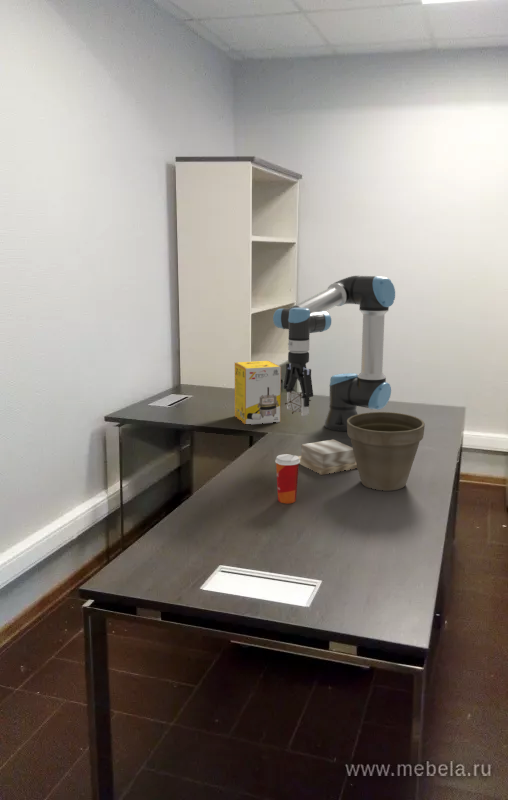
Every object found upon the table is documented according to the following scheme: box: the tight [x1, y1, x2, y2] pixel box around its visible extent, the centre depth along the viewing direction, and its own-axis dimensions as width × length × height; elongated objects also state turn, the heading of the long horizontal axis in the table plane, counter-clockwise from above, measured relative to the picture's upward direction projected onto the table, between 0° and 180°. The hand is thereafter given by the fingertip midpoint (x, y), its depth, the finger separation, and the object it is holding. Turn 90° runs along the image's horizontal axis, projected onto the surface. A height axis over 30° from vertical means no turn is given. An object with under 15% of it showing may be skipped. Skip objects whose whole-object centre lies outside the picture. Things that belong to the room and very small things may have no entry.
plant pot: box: [346, 411, 426, 492], centre depth 232 cm, size 25×25×22 cm
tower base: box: [297, 439, 358, 476], centre depth 254 cm, size 18×18×6 cm
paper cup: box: [274, 453, 300, 505], centre depth 217 cm, size 8×8×14 cm
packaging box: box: [234, 360, 282, 425], centre depth 315 cm, size 16×16×25 cm
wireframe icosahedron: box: [284, 391, 312, 415], centre depth 256 cm, size 9×8×10 cm
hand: (297, 412), depth 257 cm, fingers closed on wireframe icosahedron, 10 cm apart
